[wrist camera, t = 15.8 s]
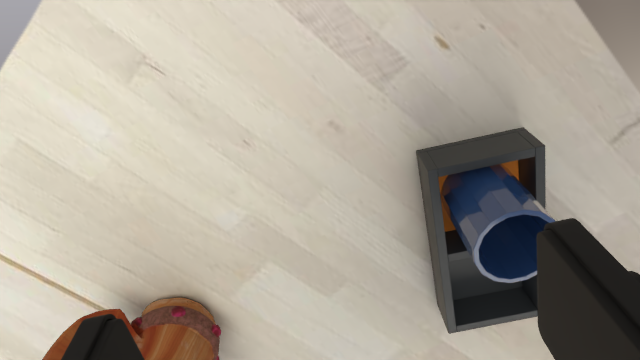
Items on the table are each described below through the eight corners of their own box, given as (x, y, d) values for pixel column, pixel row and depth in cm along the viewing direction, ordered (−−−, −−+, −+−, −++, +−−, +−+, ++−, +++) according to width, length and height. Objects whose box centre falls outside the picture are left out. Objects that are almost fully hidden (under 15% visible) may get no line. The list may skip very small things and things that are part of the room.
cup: (510, 150, 42) (561, 201, 34) (513, 212, 45) (560, 273, 37) (437, 166, 42) (470, 220, 34) (444, 227, 45) (476, 290, 37)
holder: (523, 127, 42) (545, 145, 38) (527, 287, 50) (546, 314, 46) (416, 150, 42) (427, 170, 39) (437, 305, 51) (448, 333, 47)
